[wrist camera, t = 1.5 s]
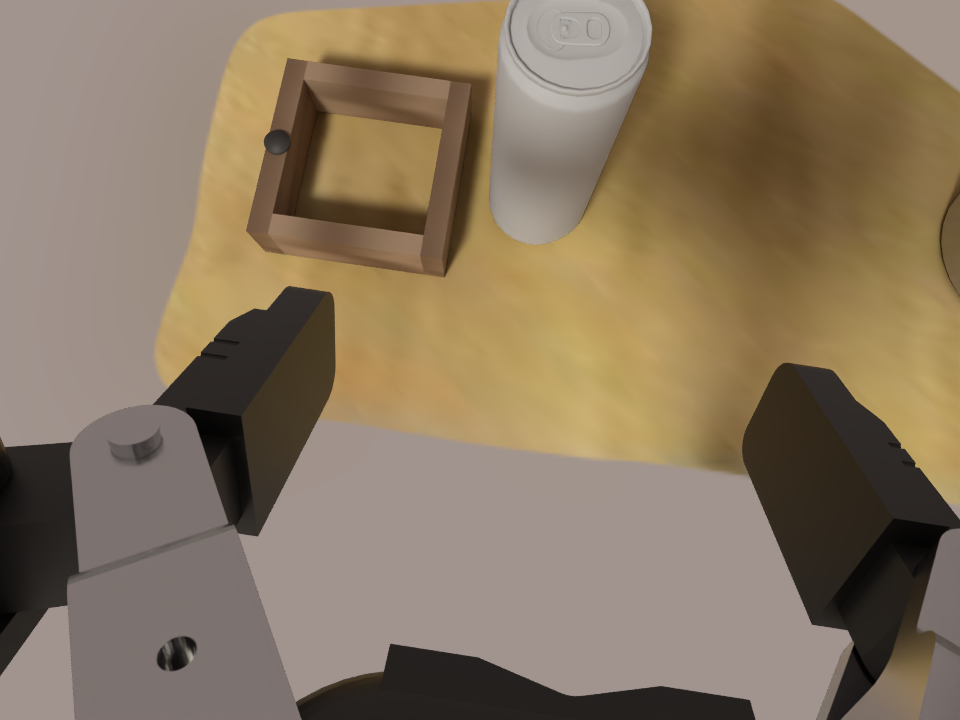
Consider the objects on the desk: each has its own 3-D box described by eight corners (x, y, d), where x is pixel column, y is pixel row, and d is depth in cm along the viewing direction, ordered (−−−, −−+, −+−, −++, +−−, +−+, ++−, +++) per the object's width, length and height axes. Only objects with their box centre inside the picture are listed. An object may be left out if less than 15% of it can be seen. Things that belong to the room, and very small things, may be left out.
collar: (471, 115, 30) (471, 81, 28) (444, 277, 29) (441, 257, 26) (300, 91, 30) (284, 55, 28) (263, 250, 29) (242, 229, 26)
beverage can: (489, 161, 30) (499, -43, 18) (582, 162, 30) (653, -40, 18) (488, 249, 29) (499, 95, 17) (584, 250, 29) (661, 98, 17)
